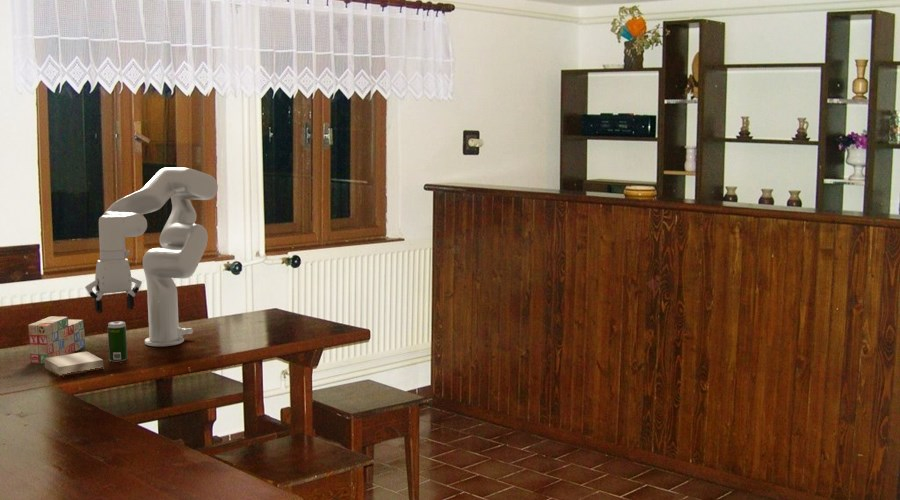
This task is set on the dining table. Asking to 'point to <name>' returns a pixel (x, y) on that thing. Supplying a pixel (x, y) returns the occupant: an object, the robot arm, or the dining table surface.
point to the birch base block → (73, 362)
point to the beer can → (117, 341)
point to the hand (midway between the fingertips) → (114, 310)
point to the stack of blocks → (55, 337)
